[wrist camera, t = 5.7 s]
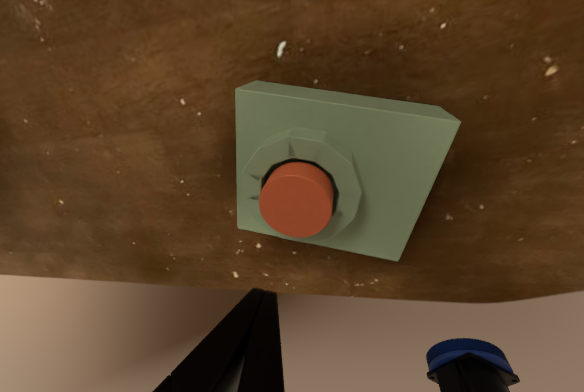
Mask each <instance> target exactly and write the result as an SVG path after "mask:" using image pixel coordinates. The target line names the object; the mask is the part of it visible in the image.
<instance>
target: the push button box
mask: <svg viewBox="0 0 584 392" xmlns="http://www.w3.org/2000/svg"><path fill="white" fill-rule="evenodd" d="M235 104H236V168H237V228H239V229H244V230H249V231H253V232H258V233H263V234H268V235H272V236H277V237H279V238H283V239H288V240H293V241H298V242H303V243H311V244H316V245H320V246H325V247H330V248H335V249H340V250H344V251H349V252H354V253H359V254H364V255H368V256H373V257H378V258H383V259H388V260H392V261H397V262H398V261H399V259H400V256H401V254H402V252H403V250H404V248H405V245H406V243H407V241H408V239H409V237H410V234H411V232H412V230H413V228H414V225H415V223H416V221H417V219H418V217H419V214H420V212H421V210H422V208H423V206H424V203H425V201H426V199H427V197H428V194H429V192H430V190H431V188H432V186H433V183H434V181H435V179H436V177H437V175H438V172H439V170H440V168H441V166H442V163H443V161H444V159H445V157H446V155H447V152H448V150H449V148H450V146H451V144H452V141H453V139H454V137H455V135H456V132H457V130H458V128H459V126H460V124H461V121H459V120H458V119H457V118H455V117H454V116H452V115H451V114H450V113H448V112H447V111H445V110H444V109H442V108H441V107H440V106H434V105H427V104H420V103H413V102H405V101H398V100H391V99H384V98H377V97H370V96H363V95H356V94H349V93H342V92H335V91H327V90H320V89H313V88H306V87H299V86H292V85H285V84H278V83H271V82H264V81H257V80H256V81H253V82H251V83H248V84H246V85H244V86H241V87H239V88H236V89H235ZM290 162H304V163H309V164H311V165H314V166H316V167H317V168H319V169H320V170H322V171H323V172H324V173H325V174H326V175H327V176H328V178H329V179H330V181H331V183H332V186H333V191H334V198H333V208H332V215H331V219H330V221H329V223H328V224H327V226H326V227H325V228H324V229H323V230H321V231H320V232H318V233H317V234H314V235H312V236H308V237H290V236H287V235H284V234H281V233H279V232H277V231H276V230H274V229H273V228H272V227H271V226H269V225H268V224H267V222H266V221H265V220H264V218H263V216H262V214H261V212H260V208H259V196H260V193H261V190H262V189H263V187H264V185H265V183H266V182H267V180H268V178H269V177H270V175H271V174H272V172H273V171H274V170H275V169H277V168H278V167H280V166H281V165H283V164H286V163H290Z"/></svg>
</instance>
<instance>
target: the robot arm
mask: <svg viewBox="0 0 584 392" xmlns="http://www.w3.org/2000/svg"><path fill="white" fill-rule="evenodd" d="M427 377H428V379H430V380H432V381H434V382H436V383H438V384H439V387H440V391H441V392H510V391H509V389H508V386H510V385H513V384H516V383H518V382H520V380H519V378H518V376H517V375H515V374H514V373H512V372H510V371H508V370H506V369H504V368H502V367H500V366H498V365H496V364H494V363H492V362H490V361H488V360H486V359H484V358H482V357H480V356H478V355H476V354H474V353H470V352H468V353H465V354H463V355H461V356H459V357H457V358H455V359H453V360H451V361H449V362H447V363H445V364H443V365H441V366H439V367H437V368H435V369H433V370H431V371H429V372H427ZM153 392H284V379H283V366H282V355H281V341H280V328H279V315H278V303H277V294H276V292H272V291H268V290H266V291H265V290H263V289H259V288H253V289H251V290H250V292H249V293H248V294H247V295H246V296H245V297H244V298H243V299H242V300H241V301H240V302H239V303H238V304H237V305H236V306H235V307H234V308H233V309H232V310H231V312H229V313H228V314H227V315H226V316H225V317H224V319H223V320H222V321H221V322H220V323H219V324H218V325H217V326H216V327H215V328H214V329H213V330H212V331H211V332H210V333H209V334H208V335H207V336H206V337H205V338H204V339H203V340H202V341H201V342H200V343H199V344H198V345H197V346H196V348H194V350H193V351H192V352H191V353H190V354H189V355H188V356H187V357H186V358H185V359H184V360H183V361H182V362H181V363H180V364H179V365H178V366H177V367H176V368H175V369H174V370H173V371H172V372H171V376H170V375H169V376H167V377H166V378H165V379H164V380H163V381H162V383H161V384H160V385H159V386H158V387H157V388H156V389H155V390H154V391H153Z"/></svg>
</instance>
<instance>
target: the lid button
mask: <svg viewBox="0 0 584 392" xmlns="http://www.w3.org/2000/svg"><path fill="white" fill-rule="evenodd" d="M333 198H334V191H333V186H332V183H331V181H330V179H329V178H328V176H327V175H326V174H325V173H324V172H323V171H322V170H320V169H319V168H317V167H316V166H314V165H311V164H309V163H304V162H290V163H286V164H283V165H281V166H280V167H278V168H277V169H275V170H274V171H273V172H272V174H271V175H270V177H269V178H268V180H267V182H266V183H265V185H264V187H263V189H262V190H261V193H260V196H259V208H260V212H261V214H262V216H263V218H264V220H265V221H266V222H267V224H268V225H269V226H271V227H272V228H273V229H274V230H276V231H277V232H279V233H281V234H284V235H287V236H290V237H308V236H312V235H314V234H317V233H318V232H320V231H321V230H323V229H324V228H325V227H326V226H327V224H328V223H329V221H330V219H331V215H332V208H333Z"/></svg>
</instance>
